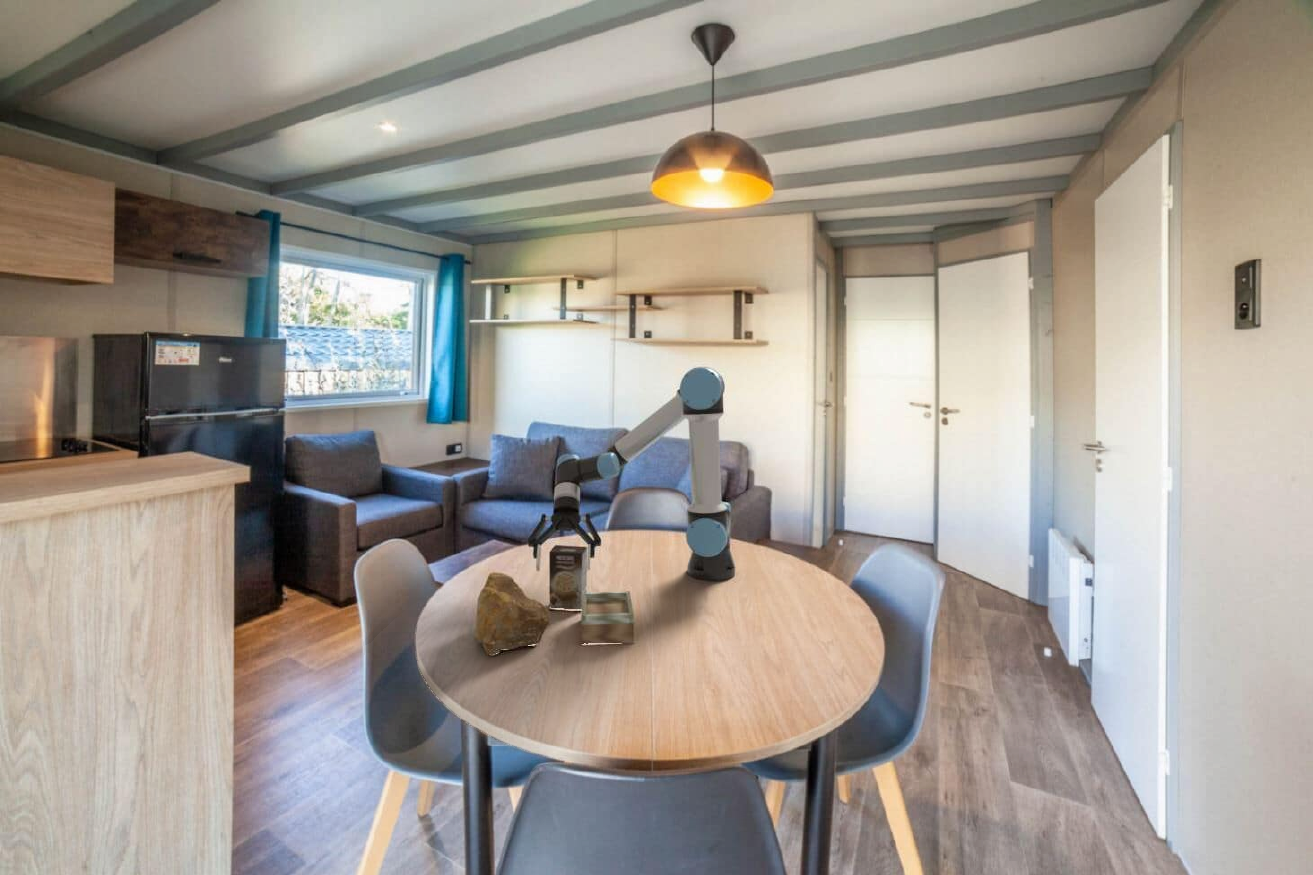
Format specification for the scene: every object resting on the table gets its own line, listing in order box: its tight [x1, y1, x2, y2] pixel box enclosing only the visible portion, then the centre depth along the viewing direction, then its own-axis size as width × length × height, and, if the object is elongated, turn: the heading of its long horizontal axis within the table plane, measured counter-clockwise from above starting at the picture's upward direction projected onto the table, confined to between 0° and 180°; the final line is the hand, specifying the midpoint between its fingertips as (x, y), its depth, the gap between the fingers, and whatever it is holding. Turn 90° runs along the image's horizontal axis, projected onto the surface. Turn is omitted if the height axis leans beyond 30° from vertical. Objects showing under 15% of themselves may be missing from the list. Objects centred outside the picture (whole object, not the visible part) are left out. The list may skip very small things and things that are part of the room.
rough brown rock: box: [474, 571, 550, 655], centre depth 133 cm, size 23×17×15 cm
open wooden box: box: [580, 590, 635, 644], centre depth 140 cm, size 12×15×7 cm
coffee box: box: [548, 544, 588, 609], centre depth 154 cm, size 9×6×16 cm
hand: (563, 568), depth 155 cm, fingers open, 13 cm apart
